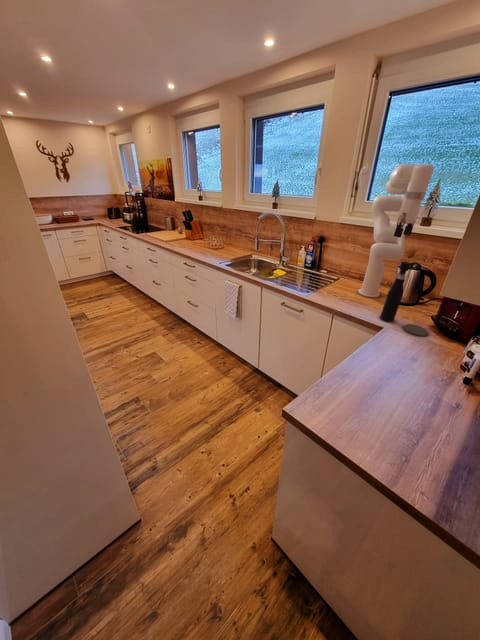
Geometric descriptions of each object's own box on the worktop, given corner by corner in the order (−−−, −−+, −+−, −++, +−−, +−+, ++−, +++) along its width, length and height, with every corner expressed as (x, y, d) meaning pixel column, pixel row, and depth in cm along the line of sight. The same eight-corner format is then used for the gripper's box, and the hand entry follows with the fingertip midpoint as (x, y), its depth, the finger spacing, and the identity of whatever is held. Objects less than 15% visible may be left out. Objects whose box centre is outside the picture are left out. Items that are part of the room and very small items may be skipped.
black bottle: (390, 323, 133) (411, 265, 118) (377, 318, 137) (396, 262, 122) (395, 319, 137) (416, 263, 122) (383, 315, 141) (401, 260, 126)
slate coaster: (409, 323, 133) (409, 322, 133) (430, 332, 126) (431, 330, 126) (399, 329, 128) (400, 327, 127) (421, 338, 121) (422, 337, 120)
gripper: (414, 195, 125) (402, 232, 133) (396, 196, 115) (385, 236, 124) (431, 196, 119) (418, 235, 128) (415, 197, 110) (401, 239, 119)
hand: (402, 235), depth 126 cm, fingers open, 9 cm apart
